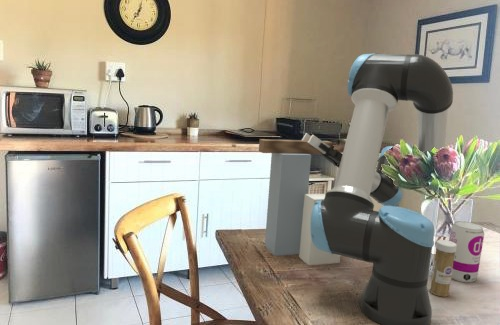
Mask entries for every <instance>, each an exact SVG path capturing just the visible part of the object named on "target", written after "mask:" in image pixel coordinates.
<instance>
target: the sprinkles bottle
mask: <svg viewBox="0 0 500 325" xmlns="http://www.w3.org/2000/svg"><path fill="white" fill-rule="evenodd" d="M456 247H457V245H456V244H455V243H454V242H451V241H449V240H447V239H438V240H436V243H435V254H434V260H433V266H432V273H431V282H430V287H429V292H431V294H432V295H435V296H438V297H442V298H443V297H449V295H450V287H451V282H452V279H451V277H452V269H453V261H454V254H455V252H456Z"/></svg>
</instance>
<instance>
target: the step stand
mask: <svg viewBox="0 0 500 325" xmlns="http://www.w3.org/2000/svg"><path fill="white" fill-rule="evenodd" d="M311 161H312V154H294V153H271V159H270V170H269V171H270V172H269V183H268V185H269V186H268V199H267V209H266V225H265V237H264V238H265V240H264V247H265V248H266V249H267V250H268V251H269V252H270V253H271V255H273V256H275V257H277V256H278V257H280V256H292V255H296V256H297V255H299V256H298V257H299V258H300V260H302V261H303V262H304V264H306V265H307V266H317V265H329V264H331V265H332V264H340V261H341V255H337V254H331V253H329V252H325V251H322V250H319V249H317V248H316V247H315V246H314V244H313V242H312V238H311V231H310V222H311V214H312V209H313V206H314V205H315V202H316V201H320V200H323V201H324V198H325V194H326V193H309V184H310V174H311V163H312V162H311Z"/></svg>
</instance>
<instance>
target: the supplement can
mask: <svg viewBox="0 0 500 325" xmlns="http://www.w3.org/2000/svg"><path fill="white" fill-rule="evenodd" d="M449 232H450V234H449V240H448V241H451V242H454V243H455V244H456V245H457V247H456V252H455V254H454V261H453V269H452V277H451V280H454V281H457V282H459V283H460V282H461V283H467V282H470V283H473V282H475V281H476V280H478V275H479V269H480V264H481V257H482V251H483V244H484V239H485V231H484V229H483V226H481V225H480V224H477V223H473V222H470V221H463V220H458V221H454V223H453V224H452V225H451V226H450V231H449Z"/></svg>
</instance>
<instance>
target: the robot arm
mask: <svg viewBox="0 0 500 325" xmlns="http://www.w3.org/2000/svg"><path fill="white" fill-rule="evenodd" d="M347 92H348V95H349V96H350V97H351V98H350V99H351V102H352V104H354V109H353V112H352V115H351V116H352V117H351V121H350V124H349V128H348V132H347V136H346V140H345V144H344V147H343V151H342V153H341V152H340V151H339V150H338V149H336V148H335V145H334V144H333V145H331V147H330V146H328V145H327V144H326V143H324V142H323V141H324V140H322V139H320V138H318V137H317V136H316V135H314V134H312V135H311V134H309V133H307V132H305V134H304V136H303V137H302V138H301V140H309V141H308V143H309V144H310V145H312V146H313V147H315V148H316V149H318V150H319V151H320V152H322V153H323V154H319V155H320V156H321V157H323V158H324V159H325V160H327V161H328V162H329V163H331V164H332V165H333V166H334V167H336V168H338V170H337V175H336V179H335V182H334V187H332V188H331V189H330V190H328V191H326V192H325V193H324V194H325V198H324V201H323V200H320V201H316V202H315V205H314V206H313V209H312V214H311V222H310V231H311V238H312V242H313V244H314V246H315V247H316V248H317V249H319V250H322V251H325V252H329V253H331V254H337V255H340V256H341V257H345V258H350V259H354V260H359V261H362V262H367V263H369V264H372V272H371V276H370V278H369V280H368V282H367V283H366V285H365V288H364V289H363V292H362V294H361V296H360V304H359V307H360V310H361V311H362V313H363V314H364V315H365V316H366V317H367V318H369V319H370V320H372V321H373V322H375V323H377V324H379V325H430V324H431V322H432V315H433V310H432V305H431V298H430V296H429V291H428V279H429V274H430V268H431V267H430V266H431V259H432V252H433V247H434V245H435V241H434V237H435V226H434V223H433V221H431V219H429V218H428V217H427V216H425V215H424V214H421V213H419V212H417V211H415V210H412V209H408V208H406V207H402V206H397V205H398V204H400V202H401V201H402V199H403V192H402V190H401V189H400V187H399V186H398V185H397V186H395V185H394V184H393V180H392V179H391V178H389V177H388V176H386V175H385V174H384V173H382V172H381V170H382V167H381V164H385V165H389V166H390V164H389V163H388V161H387V159H386V157H385V156H384V152H386V151H387V150H389V149H391V148H392V147H393V146H394V145H389V146H385V147H383V148H382V143H383V139H384V134H385V130H386V127H387V123H388V117H389V113H390V112H392V111H394V110H395V109H396V108H397V106H398V101H403V102H404V101H410V102H412V103H413V104H412V105H413V106H414V108H415V110H416V118H417V119H416V122H417V124H416V126H417V128H416V129H417V130H416V133H417V136H416V138H417V142H416V143H417V146H416V147H418V149H419V150H420V151H422V152H423V151H426V150H427V151H431V150H432V149H433V148H434V147H435V148H436V149H440V148H442V147H445V148H446V134H447V122H448V110H449V109H450V108H451V107H452V105H453V99H454V90H453V85H452V82H451V80H450V78H449V76H448V74H447V73H446V71H445V69H444V68H443V67H442V66H441V64H439V63H438V62H436V61H435V60H434V59H432V58H430V57H429V56H426V55H423V54H418V53H416V54H401V53H400V54H399V53H398V54H393V53H392V54H389V53H388V54H387V53H385V54H382V53H381V54H380V53H377V52H374V53H363V54H361V55H359V56H358V57H357V58H356V59H355V60H354V62H353V63H352V65H351V67H350V70H349V73H348V80H347ZM329 147H330V148H329ZM334 148H335V149H334ZM381 148H382V150H381ZM325 153H326V154H325ZM379 169H380V170H379ZM372 199H373V200H374V201H376V202H377V204H378V203H379V204H380V205H383V206H381V207H380V208H379V209H378V210H374V208H375V203H374V201H373V200H372Z"/></svg>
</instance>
